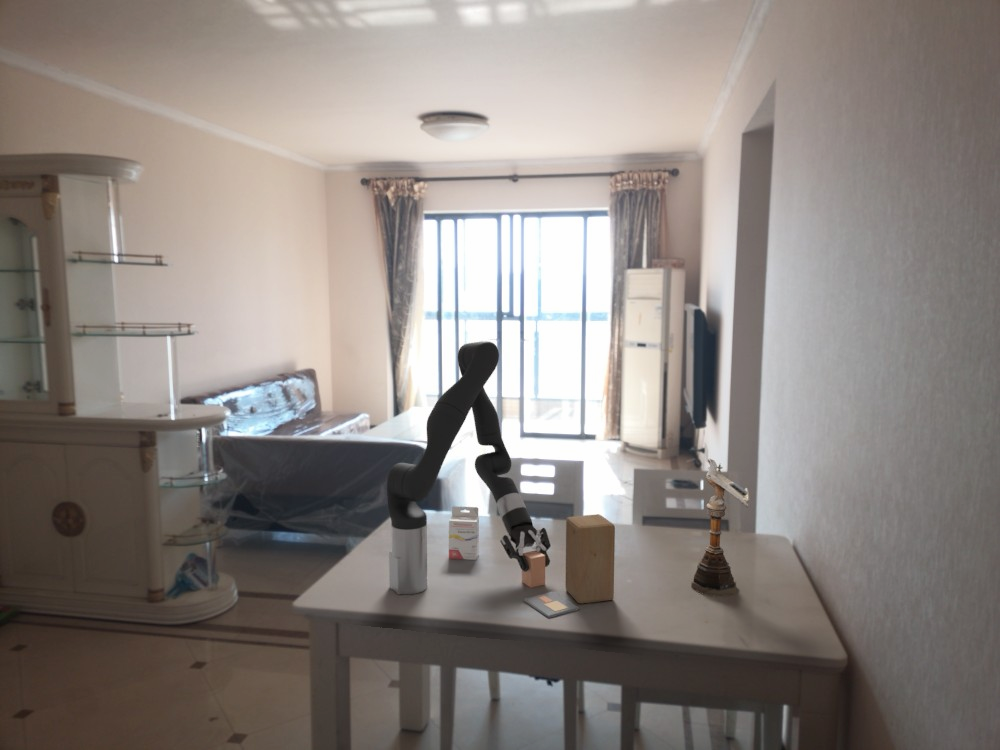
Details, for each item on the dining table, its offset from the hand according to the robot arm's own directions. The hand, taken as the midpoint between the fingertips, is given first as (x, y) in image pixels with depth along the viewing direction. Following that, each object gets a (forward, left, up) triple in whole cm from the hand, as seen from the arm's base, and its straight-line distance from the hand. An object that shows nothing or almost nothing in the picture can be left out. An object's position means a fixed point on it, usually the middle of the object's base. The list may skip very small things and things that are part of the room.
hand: (537, 567), depth 186 cm
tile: (-4, -12, -5) cm, 14 cm away
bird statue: (+42, -26, -5) cm, 50 cm away
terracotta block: (0, +2, -5) cm, 5 cm away
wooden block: (+8, -12, -5) cm, 16 cm away
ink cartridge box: (-7, +29, -5) cm, 30 cm away
